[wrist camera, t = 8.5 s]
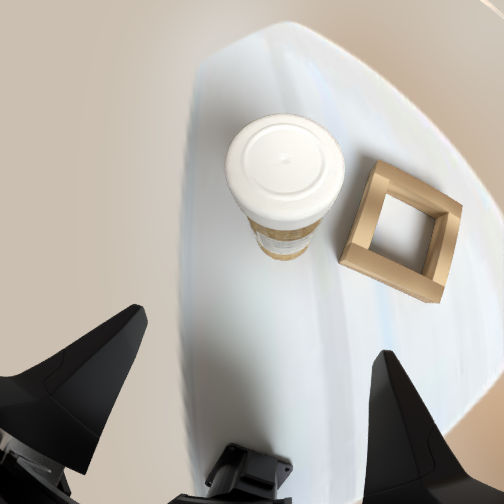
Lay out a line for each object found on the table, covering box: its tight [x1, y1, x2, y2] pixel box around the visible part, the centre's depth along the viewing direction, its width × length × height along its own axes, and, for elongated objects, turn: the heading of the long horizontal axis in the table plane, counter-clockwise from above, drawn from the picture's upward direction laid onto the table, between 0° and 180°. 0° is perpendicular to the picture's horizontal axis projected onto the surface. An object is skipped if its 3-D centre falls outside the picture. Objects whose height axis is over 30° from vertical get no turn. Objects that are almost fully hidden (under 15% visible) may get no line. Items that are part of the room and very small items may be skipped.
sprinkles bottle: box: [225, 114, 345, 261], centre depth 16 cm, size 5×5×13 cm
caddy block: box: [339, 159, 463, 303], centre depth 20 cm, size 9×9×2 cm
